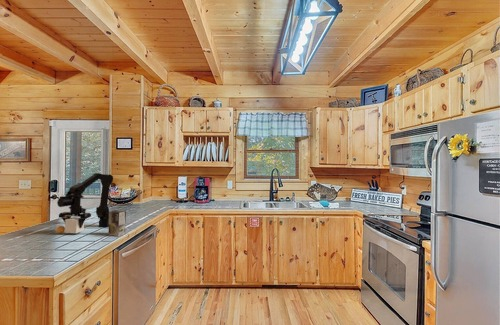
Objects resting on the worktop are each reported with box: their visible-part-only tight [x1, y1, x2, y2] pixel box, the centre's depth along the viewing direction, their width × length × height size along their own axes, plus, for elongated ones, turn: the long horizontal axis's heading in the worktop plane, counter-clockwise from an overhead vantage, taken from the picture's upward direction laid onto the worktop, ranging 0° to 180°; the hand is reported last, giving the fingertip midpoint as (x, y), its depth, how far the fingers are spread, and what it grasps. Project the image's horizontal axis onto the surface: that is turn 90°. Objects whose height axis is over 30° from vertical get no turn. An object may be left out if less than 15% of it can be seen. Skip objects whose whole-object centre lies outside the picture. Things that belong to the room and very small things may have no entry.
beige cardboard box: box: [64, 216, 85, 234], centre depth 178 cm, size 8×8×9 cm
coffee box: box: [107, 209, 127, 237], centre depth 180 cm, size 9×6×16 cm
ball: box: [55, 225, 65, 234], centre depth 178 cm, size 5×5×5 cm
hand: (74, 227), depth 179 cm, fingers closed on beige cardboard box, 8 cm apart
